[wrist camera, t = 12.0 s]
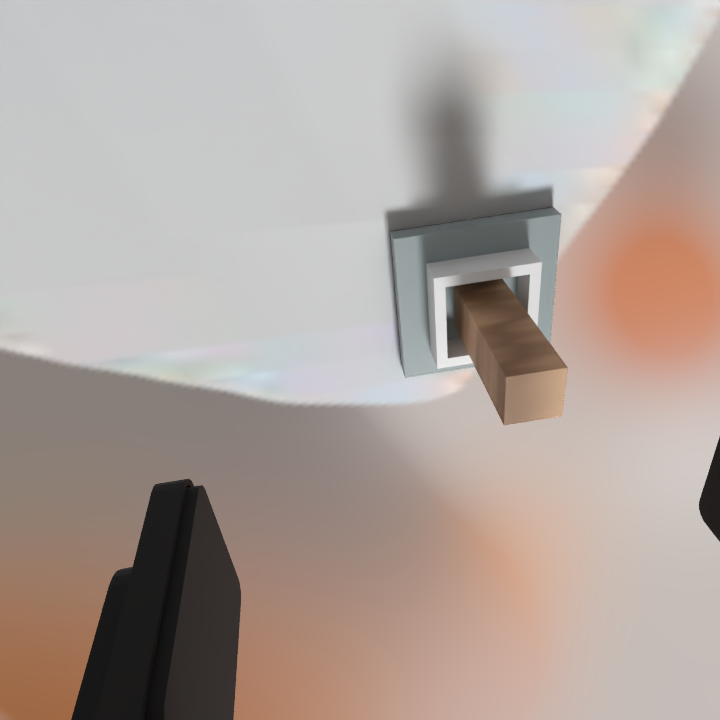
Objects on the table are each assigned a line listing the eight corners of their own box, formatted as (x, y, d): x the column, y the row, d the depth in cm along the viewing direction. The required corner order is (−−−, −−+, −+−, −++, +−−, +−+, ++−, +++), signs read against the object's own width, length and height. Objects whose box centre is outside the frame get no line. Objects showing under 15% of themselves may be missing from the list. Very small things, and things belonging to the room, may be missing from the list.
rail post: (501, 277, 43) (567, 367, 33) (500, 319, 45) (562, 416, 35) (454, 284, 43) (506, 377, 33) (454, 325, 45) (503, 425, 35)
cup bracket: (553, 207, 42) (576, 226, 39) (542, 345, 49) (561, 372, 46) (390, 231, 42) (399, 253, 38) (401, 367, 48) (410, 396, 45)
